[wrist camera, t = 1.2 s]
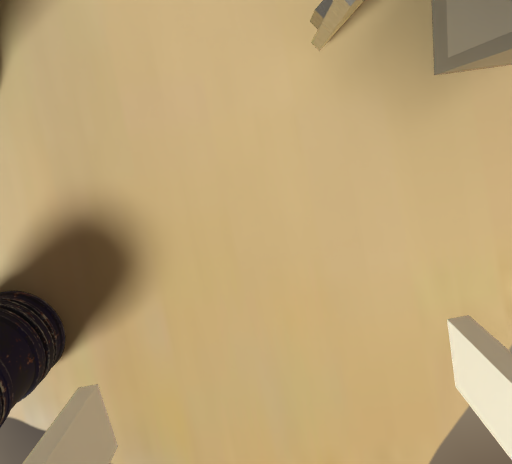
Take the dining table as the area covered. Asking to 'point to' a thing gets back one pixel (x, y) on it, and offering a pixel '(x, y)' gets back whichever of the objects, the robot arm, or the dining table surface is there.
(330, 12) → the side door
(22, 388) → the storage jar
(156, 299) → the dining table surface
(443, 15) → the grey inset panel box
